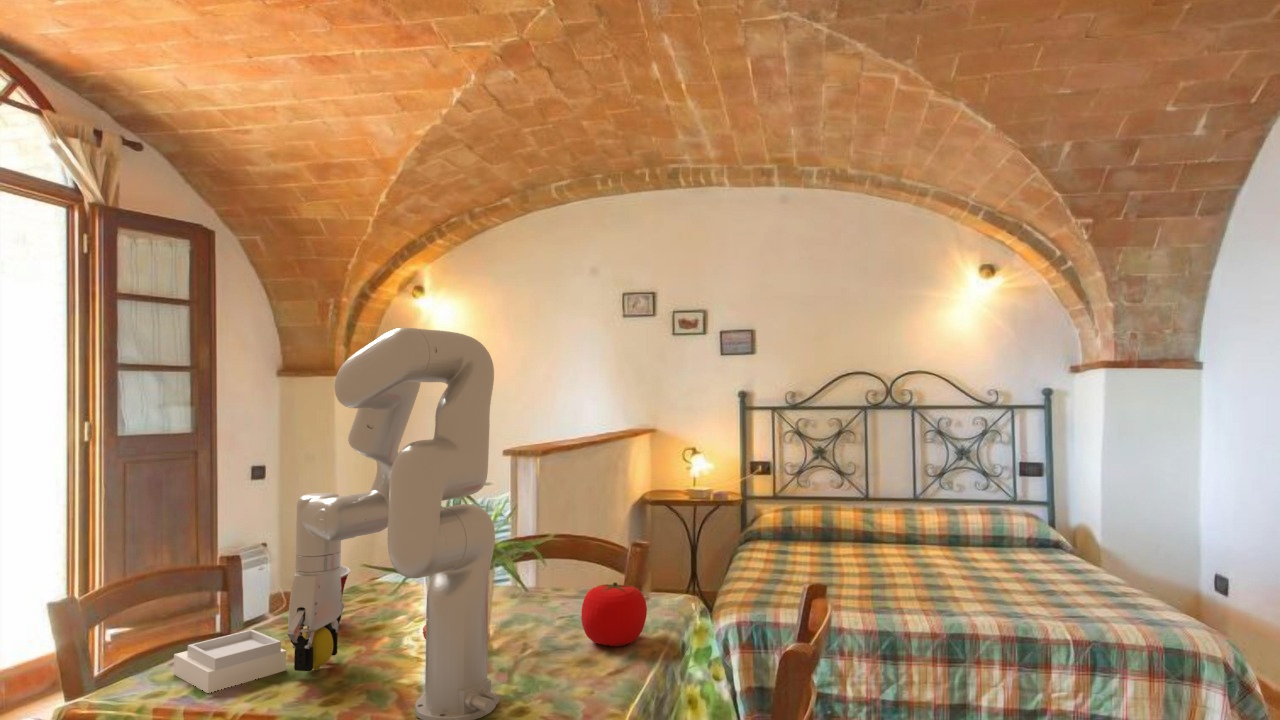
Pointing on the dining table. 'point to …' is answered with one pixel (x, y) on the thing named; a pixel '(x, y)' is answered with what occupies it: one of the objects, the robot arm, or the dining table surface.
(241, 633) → the scale
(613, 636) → the tomato
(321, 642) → the lemon
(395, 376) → the robot arm
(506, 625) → the dining table surface
